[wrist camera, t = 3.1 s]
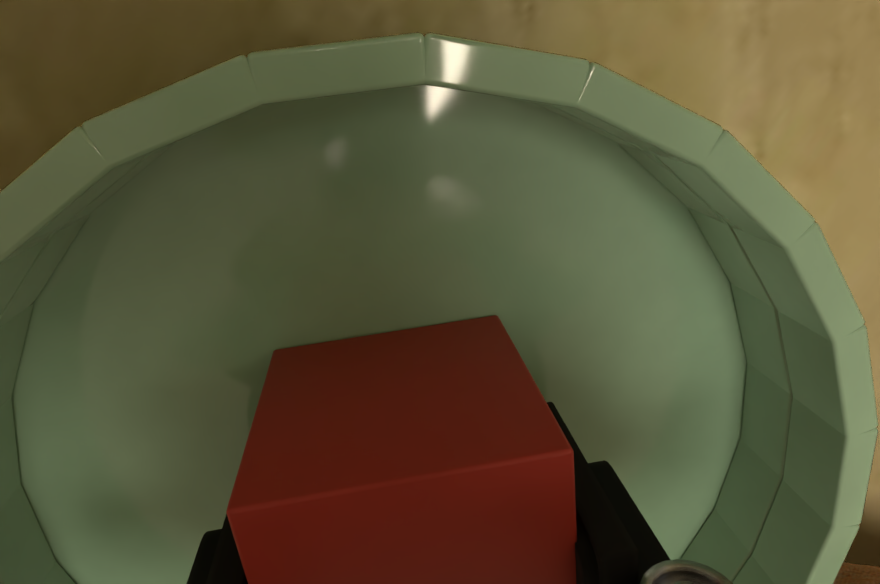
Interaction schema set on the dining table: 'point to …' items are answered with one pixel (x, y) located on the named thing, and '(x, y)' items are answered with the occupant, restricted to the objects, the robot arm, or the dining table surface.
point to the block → (405, 465)
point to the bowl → (421, 297)
